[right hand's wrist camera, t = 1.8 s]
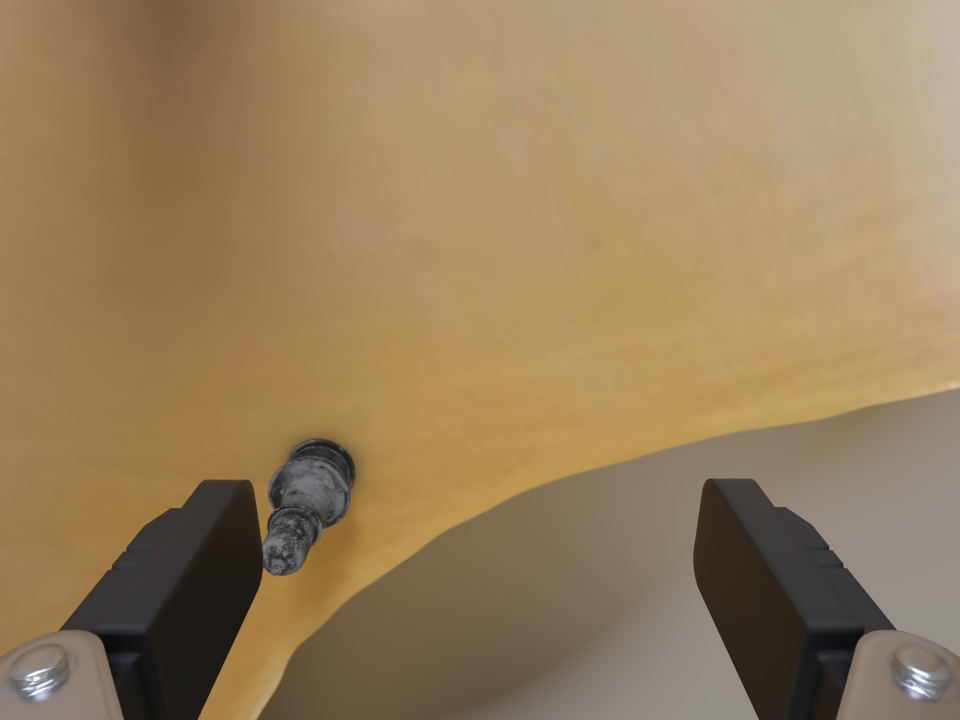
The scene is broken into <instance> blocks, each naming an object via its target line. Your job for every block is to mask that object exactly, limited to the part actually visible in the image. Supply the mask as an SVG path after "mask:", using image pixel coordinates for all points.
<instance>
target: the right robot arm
mask: <svg viewBox="0 0 960 720" xmlns="http://www.w3.org/2000/svg"><path fill="white" fill-rule="evenodd" d="M693 563H694V573H695V578H696V582H697V585H698V588H699V590H700V593H701V595H702V597H703V599H704V601H705V603H706V606H707V608H708V610H709V612H710V614H711V616H712V619H713V621H714V623H715V625H716V627H717V629H718V632H719V634H720V636H721V638H722V640H723V642H724V644H725V647H726V649H727V651H728V653H729V655H730V658H731V660H732V662H733V664H734V666H735V668H736V671H737V673H738V675H739V677H740V679H741V682H742V684H743V686H744V688H745V690H746V692H747V695H748V697H749V699H750V701H751V703H752V705H753V708H754V710H755V712H756V714H757V716H758V718H759V720H960V658H959V657H958V656H957V655H956V654H954V653H953V652H951V651H949V650H948V649H946V648H945V647H943V646H941V645H939V644H937V643H935V642H933V641H931V640H928V639H926V638H924V637H921V636H918V635H915V634H911V633H907V632H903V631H897V630H896V628H895V627H894V626H893V625H892V623H891V622H890V621H889V620H888V618H887V617H886V616H885V615H884V614H883V612H882V611H881V610H880V609H879V607H878V606H877V605H876V604H875V602H874V601H873V600H872V599H871V597H870V596H869V595H868V594H867V593H866V591H865V590H864V589H863V588H862V586H861V585H860V584H859V583H858V581H857V580H856V579H855V578H854V576H853V575H852V574H851V573H850V571H849V570H848V569H847V568H844V567H843V563H842V562H841V560H840V559H839V558H838V557H837V555H836V554H835V553H834V552H833V551H832V550H829V545H828V544H827V543H826V542H825V541H824V539H823V538H822V537H821V536H820V534H819V533H818V532H817V531H816V529H815V528H814V527H813V526H812V525H811V524H810V523H808V522H807V521H805V520H804V519H802V518H801V517H799V516H798V515H796V514H795V513H793V512H792V511H790V510H789V509H787V508H786V507H774V505H773V504H772V503H771V502H770V500H769V499H768V498H767V496H766V495H765V493H764V492H763V491H762V489H761V488H760V487H759V485H758V484H757V483H756V482H755V481H754V480H753V479H708V480H706V482H705V484H704V486H703V491H702V497H701V504H700V511H699V518H698V525H697V531H696V539H695V545H694V554H693ZM262 572H263V548H262V542H261V535H260V528H259V521H258V514H257V507H256V501H255V494H254V489H253V486H252V484H251V482H250V481H249V480H204V481H202V482H201V483H200V484H199V486H198V487H197V488H196V490H195V491H194V492H193V494H192V495H191V496H190V497H189V499H188V500H187V501H186V503H185V504H184V505H183V507H182V508H170V509H169V510H168V511H166V512H165V513H163V514H162V515H160V516H159V517H157V518H156V519H154V520H153V521H151V522H150V523H148V524H147V525H145V526H144V527H143V528H142V529H141V531H140V532H139V533H138V534H137V535H136V537H135V538H134V539H133V540H132V542H131V543H130V544H129V545H128V546H127V550H126V552H123V553H122V554H121V555H120V556H119V558H118V559H117V560H116V561H115V562H114V564H113V565H112V570H108V571H107V572H106V573H105V575H104V576H103V577H102V578H101V580H100V581H99V582H98V583H97V585H96V586H95V587H94V588H93V589H92V591H91V592H90V593H89V594H88V596H87V597H86V598H85V599H84V600H83V602H82V603H81V604H80V605H79V607H78V608H77V609H76V610H75V611H74V613H73V614H72V615H71V616H70V618H69V619H68V620H67V621H66V623H65V624H64V625H63V626H62V627H61V629H60V630H59V631H57V632H53V633H49V634H45V635H42V636H39V637H36V638H34V639H32V640H29V641H27V642H25V643H23V644H21V645H19V646H17V647H15V648H14V649H12V650H11V651H9V652H7V653H6V654H4V655H3V656H2V657H0V720H198V717H199V715H200V713H201V711H202V709H203V707H204V705H205V702H206V700H207V698H208V696H209V694H210V692H211V690H212V688H213V685H214V683H215V681H216V679H217V677H218V675H219V673H220V670H221V668H222V666H223V664H224V662H225V660H226V658H227V655H228V653H229V651H230V649H231V647H232V645H233V643H234V640H235V638H236V636H237V634H238V632H239V630H240V628H241V625H242V623H243V621H244V619H245V617H246V615H247V613H248V610H249V608H250V606H251V604H252V602H253V600H254V598H255V595H256V593H257V591H258V589H259V586H260V582H261V578H262Z"/></svg>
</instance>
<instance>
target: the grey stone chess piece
mask: <svg viewBox="0 0 960 720" xmlns="http://www.w3.org/2000/svg"><path fill="white" fill-rule="evenodd" d="M354 476H355V469H354V464H353V461H352V459H351V457H350V456H349V455H348V453H347V452H346V451H345V450H344V449H343V448H341V447H340V446H339V445H337V444H334V443H332V442H330V441H325V440H309V441H306V442H303V443H301V444H299V445H297V446H296V447H295V448H294V449H293V450H292V451H291V452H290V454H289V456H288V458H287V461H286V464H285V465H283V466H281V467H280V468H279V469H278V470H277V471H276V472H275V473H274V474H273V476H272V478H271V480H270V482H269V487H268V497H269V502H270V504H271V506H272V508H273V510H274V512H273V513H272V514H271V516H270V517H269V519H268V524H267V528H268V534H267V536H266V538H265V540H264V542H263V544H262V548H263V567H264V568H265V569H266V570H267V571H268V572H270V573H272V575H273V576H275V575H278V576H285V575H290V574H293V573H295V572H297V571H298V570H299V569H300V568H301V567H302V565H303V563H304V562H305V559H306V557H307V554H308V552H309V549H310V547H312V546H313V545H314V544H316V543H317V542H318V540H319V538H320V537H321V533H322V529H324V528H328V527H330V526H332V525H334V524H336V523H337V522H338V521H339V520H341V519H342V518H343V517H344V515H345V513H346V512H347V510H348V508H349V503H350V490H349V488H350V486H351V485H352V483H353V480H354Z"/></svg>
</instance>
